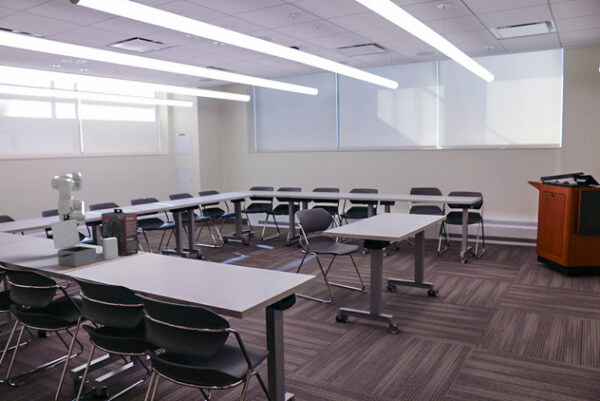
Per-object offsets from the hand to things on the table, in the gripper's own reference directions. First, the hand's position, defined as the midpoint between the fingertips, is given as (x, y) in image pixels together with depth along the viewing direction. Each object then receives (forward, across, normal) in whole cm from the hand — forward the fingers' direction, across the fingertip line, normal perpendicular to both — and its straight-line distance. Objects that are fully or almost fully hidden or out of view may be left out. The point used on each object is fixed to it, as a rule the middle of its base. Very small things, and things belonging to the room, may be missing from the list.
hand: (66, 223), depth 325 cm
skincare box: (+26, +24, +15) cm, 38 cm away
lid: (+5, +8, -7) cm, 12 cm away
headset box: (+25, +14, +33) cm, 44 cm away
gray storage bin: (+25, +18, -7) cm, 31 cm away
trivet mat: (+25, +18, -7) cm, 32 cm away
